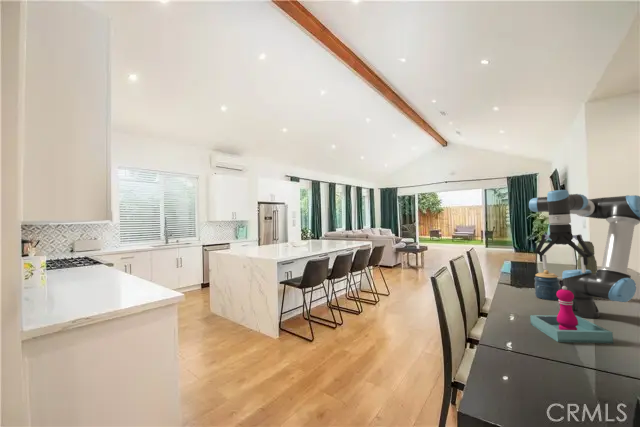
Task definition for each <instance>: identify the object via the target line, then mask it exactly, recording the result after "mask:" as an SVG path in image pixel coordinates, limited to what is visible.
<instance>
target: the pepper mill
mask: <svg viewBox="0 0 640 427" xmlns="http://www.w3.org/2000/svg"><path fill="white" fill-rule="evenodd" d="M556 295H557V297H558V298H559V300H557V301H558V304H559V311H558V314H556V315H557V322H558V323H559V324H560V325H559V330H577V328H576V326H577V325H578V320H577V318H576V316H575V315H574V313H573V310H572V305H573V301H572V300H573V299H574V294H573V293H572V292H571V291H569V290H567V287H566V286H563V285H562V286H561V288H560V290H558V291H557V294H556Z"/></svg>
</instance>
